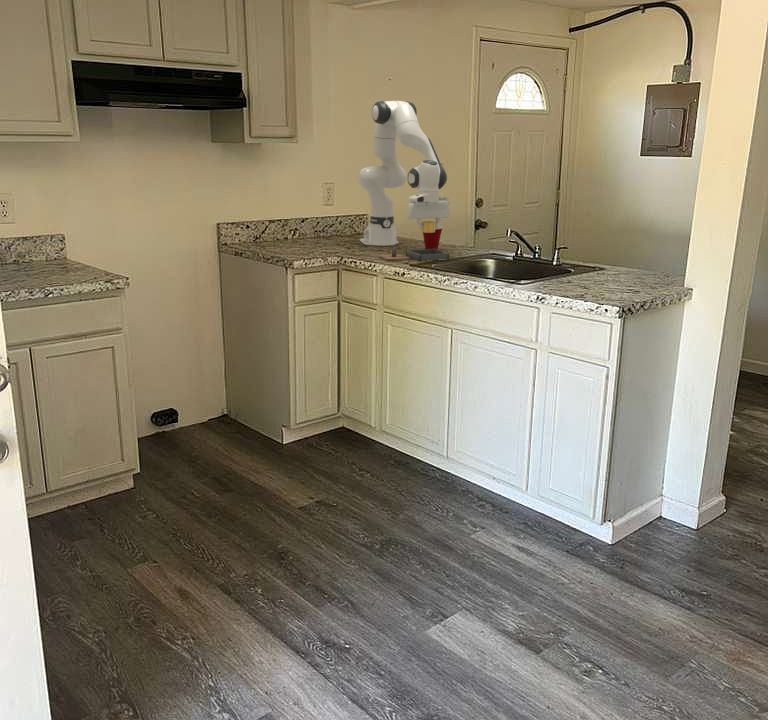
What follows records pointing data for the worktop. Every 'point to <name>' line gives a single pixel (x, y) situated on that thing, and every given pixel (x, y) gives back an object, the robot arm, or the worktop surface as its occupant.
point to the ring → (428, 226)
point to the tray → (426, 254)
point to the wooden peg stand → (393, 255)
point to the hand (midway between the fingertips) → (428, 228)
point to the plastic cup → (432, 238)
